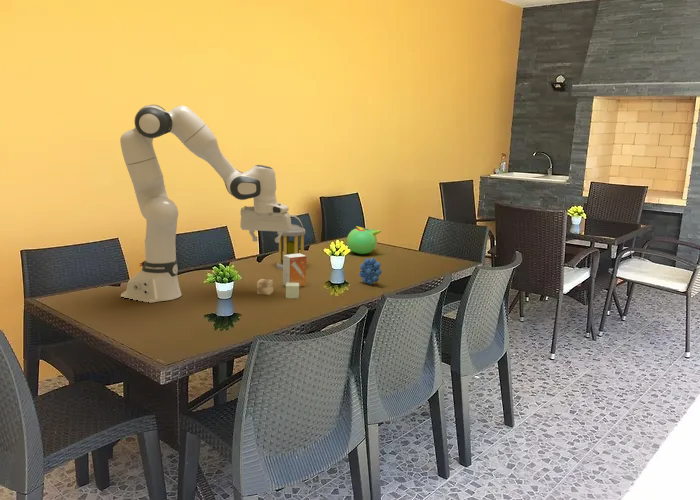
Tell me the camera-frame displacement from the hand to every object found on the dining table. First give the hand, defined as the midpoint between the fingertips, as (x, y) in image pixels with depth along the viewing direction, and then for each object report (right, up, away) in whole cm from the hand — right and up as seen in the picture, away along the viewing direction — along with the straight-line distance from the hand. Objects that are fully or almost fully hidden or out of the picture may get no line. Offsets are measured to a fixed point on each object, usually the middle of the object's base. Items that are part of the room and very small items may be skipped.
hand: (266, 241), depth 228 cm
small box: (+10, -18, +16) cm, 26 cm away
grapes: (+42, -18, +20) cm, 50 cm away
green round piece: (+40, -5, +82) cm, 91 cm away
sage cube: (+10, -22, -1) cm, 24 cm away
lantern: (+5, -12, +48) cm, 49 cm away
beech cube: (-1, -20, +4) cm, 21 cm away
